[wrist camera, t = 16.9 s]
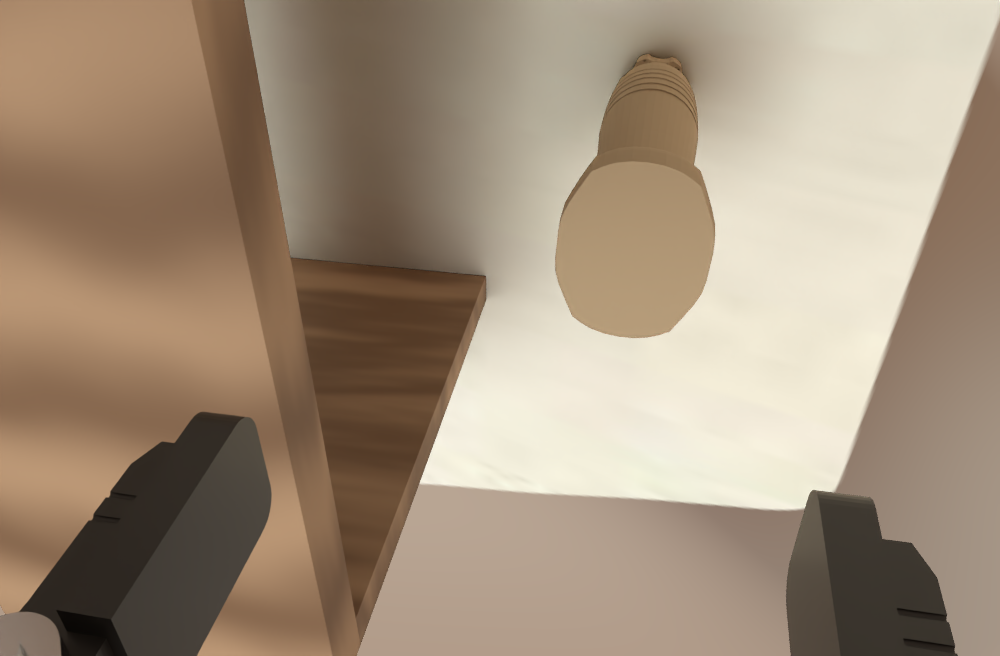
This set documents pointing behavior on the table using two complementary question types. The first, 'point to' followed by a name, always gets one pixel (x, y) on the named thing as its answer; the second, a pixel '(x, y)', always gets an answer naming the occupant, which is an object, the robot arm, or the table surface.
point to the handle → (639, 211)
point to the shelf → (197, 316)
